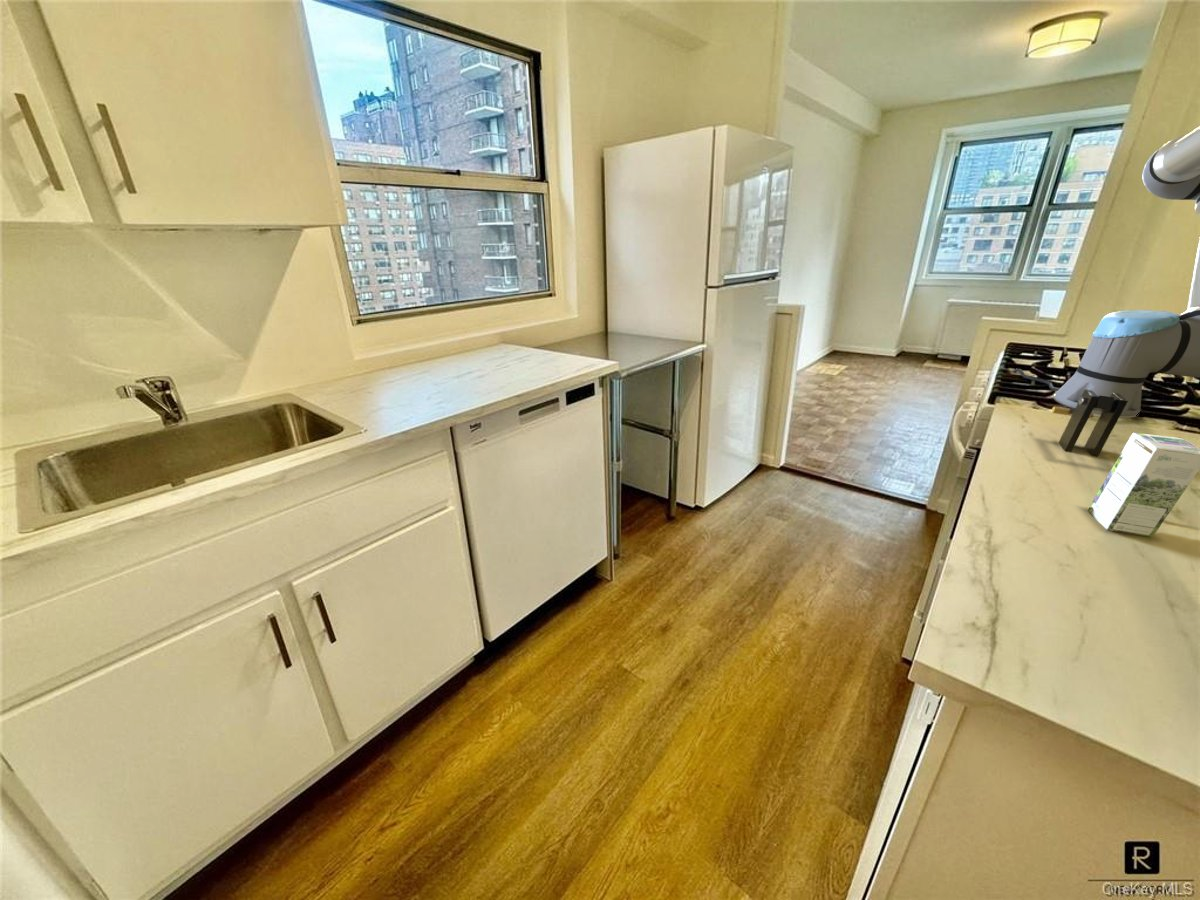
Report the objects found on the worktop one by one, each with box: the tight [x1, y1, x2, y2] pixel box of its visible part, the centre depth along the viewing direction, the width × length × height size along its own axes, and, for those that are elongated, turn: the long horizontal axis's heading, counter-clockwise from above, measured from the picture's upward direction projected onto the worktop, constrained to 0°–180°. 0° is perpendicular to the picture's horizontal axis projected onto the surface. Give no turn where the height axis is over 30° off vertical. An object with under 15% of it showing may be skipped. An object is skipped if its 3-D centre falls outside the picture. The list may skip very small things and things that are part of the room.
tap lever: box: [1050, 395, 1114, 419], centre depth 96 cm, size 14×6×2 cm, turn 153°
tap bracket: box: [1058, 389, 1128, 458], centre depth 93 cm, size 10×9×13 cm
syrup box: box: [1087, 432, 1200, 538], centre depth 72 cm, size 6×6×14 cm
